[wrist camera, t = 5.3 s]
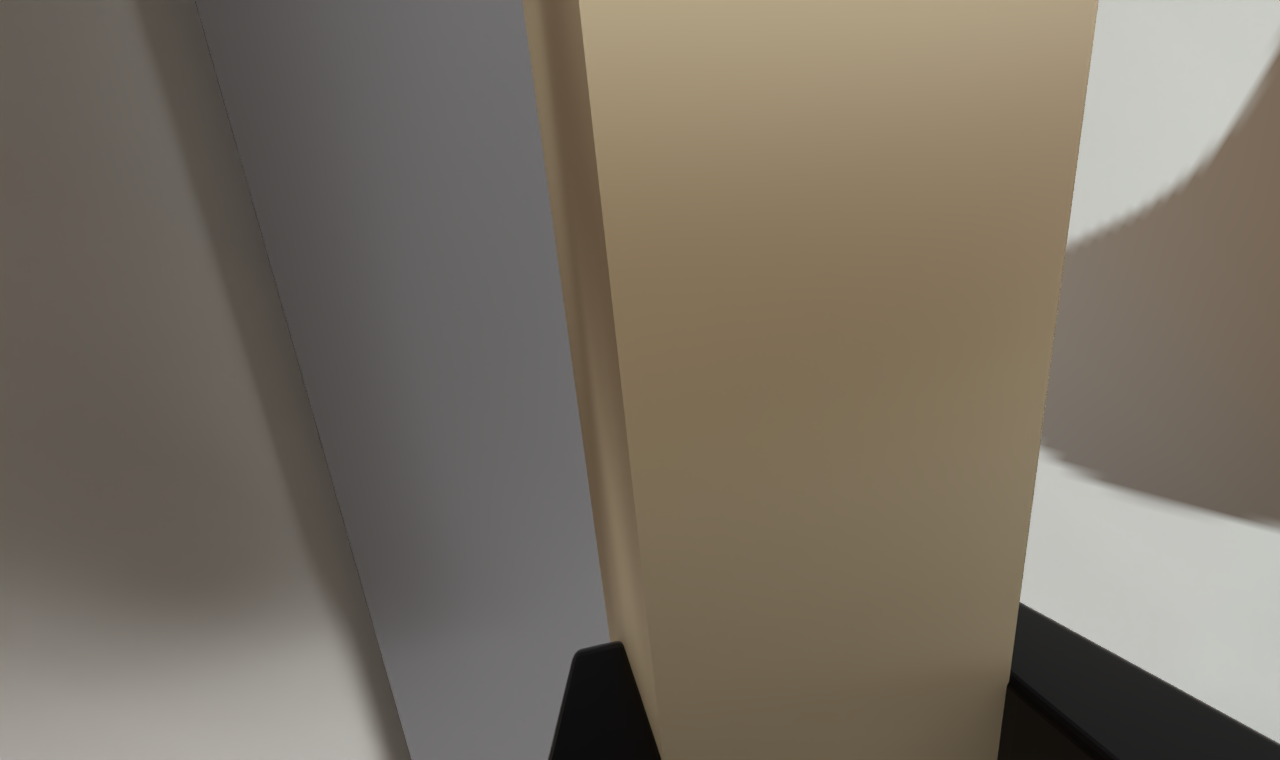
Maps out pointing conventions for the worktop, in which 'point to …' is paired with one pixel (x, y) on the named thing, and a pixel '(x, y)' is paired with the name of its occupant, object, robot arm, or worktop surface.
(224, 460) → the worktop surface
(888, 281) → the stick
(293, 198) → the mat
